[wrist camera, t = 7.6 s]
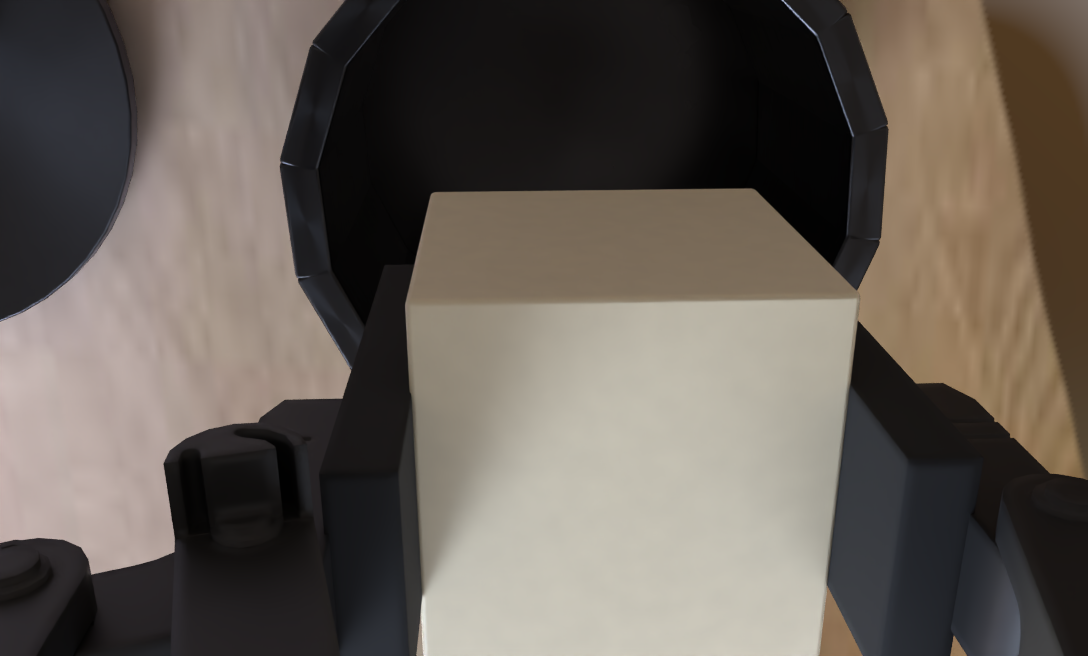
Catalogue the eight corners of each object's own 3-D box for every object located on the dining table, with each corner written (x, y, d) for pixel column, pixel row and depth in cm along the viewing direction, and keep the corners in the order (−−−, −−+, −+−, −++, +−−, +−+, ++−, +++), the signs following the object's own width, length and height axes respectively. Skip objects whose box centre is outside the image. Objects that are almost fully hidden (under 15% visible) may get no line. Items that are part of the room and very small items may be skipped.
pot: (253, 21, 28) (162, 60, 20) (679, -200, 27) (759, -249, 19) (465, 397, 33) (458, 550, 25) (840, 225, 31) (961, 328, 23)
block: (441, 480, 18) (423, 678, 13) (430, 191, 16) (404, 300, 11) (734, 473, 18) (820, 666, 13) (755, 187, 16) (863, 293, 11)
